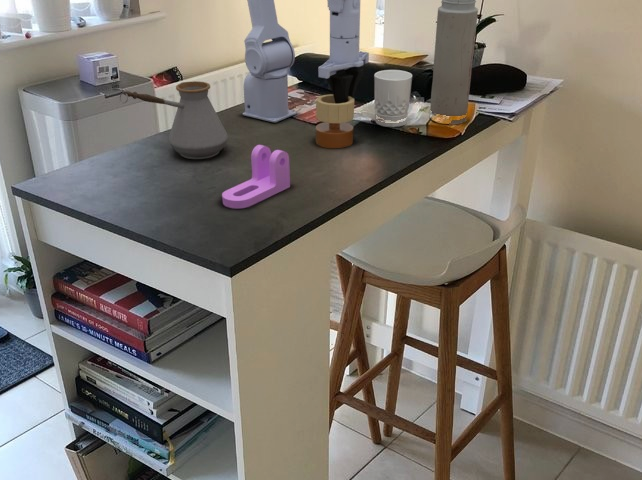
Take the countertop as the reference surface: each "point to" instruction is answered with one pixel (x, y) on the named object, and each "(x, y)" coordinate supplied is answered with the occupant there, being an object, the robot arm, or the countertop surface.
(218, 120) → the coffee pot
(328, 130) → the wooden peg base
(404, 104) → the white cup
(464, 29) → the thermos bottle
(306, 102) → the countertop surface
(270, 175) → the bracket
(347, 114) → the ring
